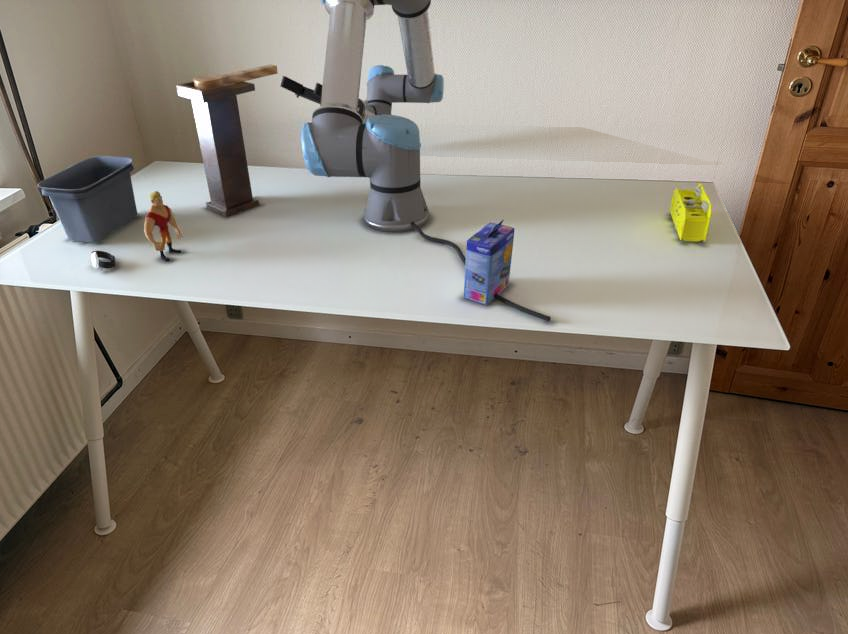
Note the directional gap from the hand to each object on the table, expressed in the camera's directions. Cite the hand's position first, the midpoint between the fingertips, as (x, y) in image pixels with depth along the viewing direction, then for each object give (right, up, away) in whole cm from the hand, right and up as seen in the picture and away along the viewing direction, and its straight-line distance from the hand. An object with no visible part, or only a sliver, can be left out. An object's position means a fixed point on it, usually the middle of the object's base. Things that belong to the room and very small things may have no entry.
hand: (298, 84), depth 173 cm
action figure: (-25, -47, -23) cm, 58 cm away
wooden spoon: (-13, -4, -12) cm, 18 cm away
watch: (-39, -50, -25) cm, 68 cm away
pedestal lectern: (-16, -31, +1) cm, 35 cm away
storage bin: (-47, -38, -8) cm, 61 cm away
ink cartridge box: (+42, -57, -42) cm, 82 cm away
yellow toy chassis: (+89, -41, -22) cm, 100 cm away
